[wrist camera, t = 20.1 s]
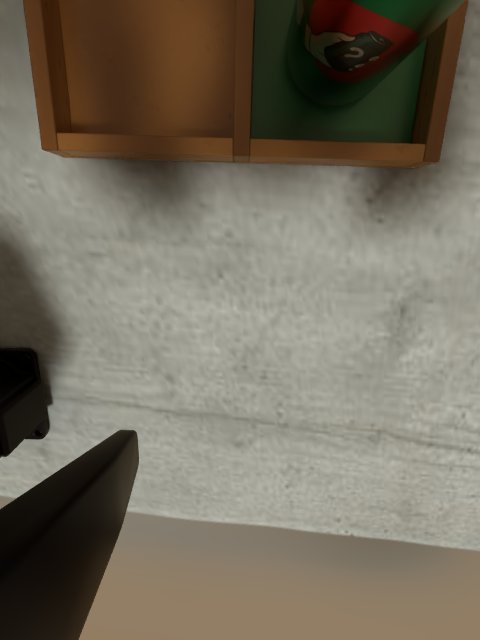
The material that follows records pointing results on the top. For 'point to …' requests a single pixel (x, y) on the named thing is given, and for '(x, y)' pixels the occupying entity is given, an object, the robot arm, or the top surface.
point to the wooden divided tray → (221, 87)
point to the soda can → (356, 43)
